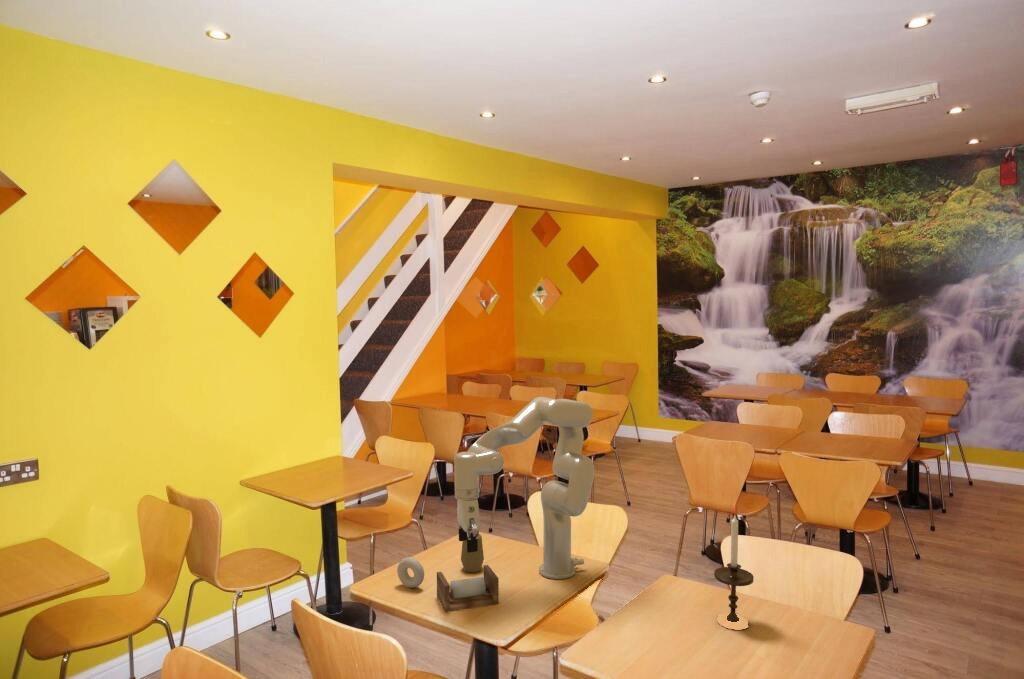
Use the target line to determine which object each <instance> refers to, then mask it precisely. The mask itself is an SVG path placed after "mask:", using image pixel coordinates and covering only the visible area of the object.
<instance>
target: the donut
mask: <svg viewBox="0 0 1024 679" xmlns="http://www.w3.org/2000/svg"><path fill="white" fill-rule="evenodd" d="M408 569H410V570H411V571H412V573H413V576H411V575H410V574H409V572H408ZM424 569H425V568H424V566H423V565H422V563H421V562H420V561H419V560H418V559H416V558H415V557H412V556H411V557H410V556H407V557H405V558H403V559H401V560H400V561H399V562H398V565H397V570H396V572H397V577H398V579H399V581H400V583H401V584H403V585H404V586H405V587H407V588H411V589H415V588H417V587H419V586H420V585H421V584H422V583H423V582H424V579H425V570H424Z"/></svg>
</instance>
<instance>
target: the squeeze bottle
mask: <svg viewBox="0 0 1024 679" xmlns="http://www.w3.org/2000/svg"><path fill="white" fill-rule="evenodd" d="M469 529H472V528H469ZM469 533H470V535H471V533H472V532H469ZM477 534H478V535H477V537H478V539H477V541H478V551H476V552H470V553H468V552H467V540H466V541H461V542H462V543H461V553H460V556H461V557H460V561H461V565H462V567H463V570H464V571H465V572H467V573H476V572H479V571H481V570H482V566H483V563H484V560H485V558H484V549H483V548H484V545H483V538H482V537H483V536H482V535H481V533H480V530H477Z"/></svg>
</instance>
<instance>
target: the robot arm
mask: <svg viewBox="0 0 1024 679" xmlns="http://www.w3.org/2000/svg"><path fill="white" fill-rule="evenodd" d="M593 419H594V411H593V408H592V406H590V404H588V403H586V402H584V401H578V400H573V399H569V398H557V399H556V398H551V397H547V396H537V397H534V398H533V399H532V400H531V401H530V402H529V403H527V404H526V405H525V406H524V407H522V409H521V410H519V411H518V413H517V414H516V415H514V416H513V417H512V418H511V419H510V420H509V421H508V422H505V423H503V424H501V425H498V426H497V427H495V428H492V429H491V430H489V431H487V432H485V433H484V434H482V435H481V436H480V437H478V439H477V440H475V442H474V443H472V444H471V446H470V447H469V448H468V450H467V451H459V452H458V453H456V454H455V455H454V458H453V467H454V470H453V472H454V474H453V476H454V498H455V499H456V501H457V502H456V504H457V505H456V510H457V511H456V512H457V513H456V516H457V522H458V542H463V541H466V540H467V552H468V553H470V552H476V551H478V541H477V539H478V537H477V535H478V534H477V530H479V531H480V529H481V521H480V509H479V508H480V507H479V501H478V499H479V498H480V480H479V478H480V475H481V476H483V475H484V476H486V475H489V476H490V475H496V474H497V473H499V472H501V471H502V470H503V468H504V465H505V459H504V456H503V454H501V453H500V452H499V451H497V450H499V449H501V448H505V447H508V446H513V445H519V444H522V443H525V442H527V441H528V440H529V439H530V438H531V437H532V436H534V434H536V432H538V430H540V428H541V427H543V426H544V425H545V424H547V425H552V426H557V428H558V432H559V435H558V442H557V446H556V449H555V455H554V457H553V462H552V472H553V473H554V475H556V476H557V477H559V478H561V479H563V480H566V481H568V483H565V482H563V481H559V480H549V481H547V482H546V483H545V484H544V485H543V486H542V488H541V491H540V501H541V506H542V515H543V543H542V544H543V550H542V551H543V552H542V553H543V555H542V556H543V563H542V564H541V565H540V566H539V567H538V572H539V574H540V575H541V576H542V577H545V578H548V579H551V580H563V579H569V578H572V577H573V576H575V574H576V566H581V565H585V560H584V558H579V559H578V557H577V556H576V557H572V519H571V517H579V516H581V515H582V514H583V513H584V511H585V510H586V508H587V506H588V502H589V498H590V496H591V492H592V486H593V483H594V478H595V474H596V468H595V464H594V463H593V460H592V459H591V458H590V457H588V455H587V456H586V455H583V454H582V449H583V445H584V440H585V439H584V438H585V437H584V436H585V435H584V431H583V429H584V428H586V427H588V426H589V425H591V423H592V421H593ZM469 528H472V529H469ZM469 532H472V533H471V535H470V533H469Z"/></svg>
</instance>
